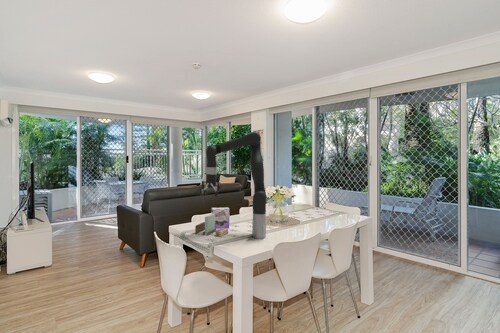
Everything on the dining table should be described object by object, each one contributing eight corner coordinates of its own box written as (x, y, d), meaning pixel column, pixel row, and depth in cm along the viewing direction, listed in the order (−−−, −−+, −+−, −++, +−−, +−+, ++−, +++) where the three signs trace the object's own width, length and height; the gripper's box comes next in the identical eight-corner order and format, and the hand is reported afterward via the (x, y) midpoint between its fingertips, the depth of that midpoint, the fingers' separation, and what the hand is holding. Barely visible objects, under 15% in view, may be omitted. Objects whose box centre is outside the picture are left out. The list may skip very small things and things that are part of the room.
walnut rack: (216, 232, 209) (216, 223, 208) (207, 237, 197) (208, 227, 197) (203, 231, 212) (204, 221, 212) (195, 235, 201) (195, 225, 200)
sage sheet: (214, 232, 208) (214, 214, 208) (207, 236, 198) (207, 217, 197) (211, 232, 209) (212, 213, 208) (204, 236, 199) (205, 216, 198)
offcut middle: (227, 233, 204) (228, 231, 204) (221, 237, 195) (221, 234, 195) (221, 232, 206) (221, 230, 206) (215, 236, 196) (215, 233, 196)
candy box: (211, 230, 215) (211, 208, 215) (210, 228, 221) (211, 207, 220) (229, 229, 218) (229, 208, 217) (228, 227, 224) (228, 207, 223)
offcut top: (227, 231, 204) (227, 228, 204) (221, 234, 195) (221, 231, 195) (221, 230, 206) (221, 227, 206) (215, 233, 197) (215, 231, 197)
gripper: (222, 173, 203) (221, 196, 203) (205, 172, 207) (204, 194, 208) (217, 174, 196) (217, 197, 196) (199, 173, 200) (199, 195, 201)
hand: (210, 195), depth 202 cm, fingers open, 8 cm apart
